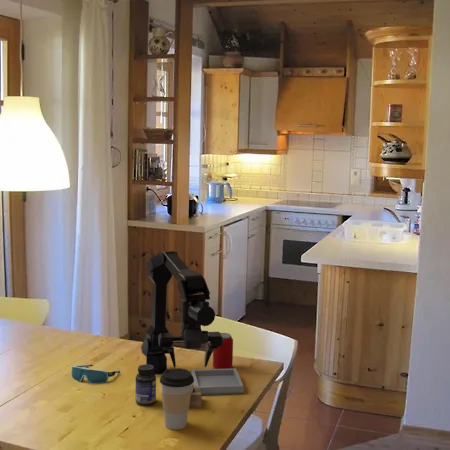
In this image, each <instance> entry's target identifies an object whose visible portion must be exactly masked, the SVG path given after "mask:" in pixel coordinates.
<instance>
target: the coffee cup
mask: <svg viewBox="0 0 450 450" xmlns="http://www.w3.org/2000/svg"><path fill="white" fill-rule="evenodd" d="M193 382H194V377H193V376H192V375H191V370H188V369H186V368H180V367H179V368H177V367H175V368H170V369H167V370H165V371H164V372H163V374H162V375H161V376H160V377H159V383H160V384H161V399H162V410H163V415H164V424H165V425H164V427H166V428H167V429H170V430H176V431H178V430H183V429H184V428H186V426H187V423H188V415H189V409H190V408H189V404H190V396H191V386H192V385H193Z"/></svg>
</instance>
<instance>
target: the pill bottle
mask: <svg viewBox="0 0 450 450" xmlns="http://www.w3.org/2000/svg"><path fill="white" fill-rule="evenodd" d="M153 371H154V366H152V365H149V364H146V363H145V364H141V365H138V366H137V374H136V375H135V403H136V404H137V405H138V406H145V407H148V406H152V405H154V404H155V403H156V402H157V401H156V400H157V399H156V398H157V376H156V374H154V373H153Z"/></svg>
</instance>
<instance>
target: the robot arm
mask: <svg viewBox="0 0 450 450" xmlns="http://www.w3.org/2000/svg"><path fill="white" fill-rule="evenodd" d="M145 266H146V271H147V276H148V278H149V279H150V281H151V283H152V288H151V290H152V291H151V319H150V321H151V322H150V323H151V324H150V326H149V327H148V329H147V330H146V332H145V333H146V334H145V339H144V341H143V343H142V344H141V347H140V348H141V354H143V356H145V364H149V365H152V366H154V371H153V373H154V374H155V375H156V374H157V375H159V374H162V375H163V372H164V371H166V370H168V367H167V366H168V365H167V363H168V357H167V355H166V354H169V355H170V359H171V362H172V365H173V369H175V368H177V367H176V366H177V365H176V356H175V355H176V354H175V347H174V344H179V343H180V344H181V343H182V344H184V349H186V350H190V349H197V350H198V349H201V348H202V345H205V351H204V353H205V354H204V368H207V366H208V364H209V361H210V358H211V356H212V355H213V351H214V350H215V349H218V346H223V337H222V335H221V333H222V332H220V331H208V330H202V329H201V326H202V327H208V326H210V325H212V323H214V321H215V319H216V312H215V310H214V308H213V307H211V306H210V302H209V301H210V300H211V296H210V295H211V292H210V290H209V287H208V284H207V281H206V279H205V277H204V275H202V273H200V272H198V271H196V270H193V269H190V268H189V266H188V265H187V264H186V263H185V262H184V261H183V260H182V259H181V257H180V256H179V255H178V252H177V251H176V250H167V251H165V250H164V251H162V252H160V253H159V254H157V255H154V256H152V257H149V260H147V262H146V265H145ZM173 277H174V279H176V281H177V284H176V287H177V289H178V292H179V294H180V296H179V299H181V315H180V316H181V319H180V320H181V321H180V322H181V323H180V328H181V329H180V331H181V332H180V335H177V336H176V335H175V336H173V332H170V331H169V329H168V328H167V324H166V323H167V300H168V299H167V295H168V294H167V291H168V283H169V282H170V281H171V279H172V278H173ZM208 300H209V301H208Z"/></svg>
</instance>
